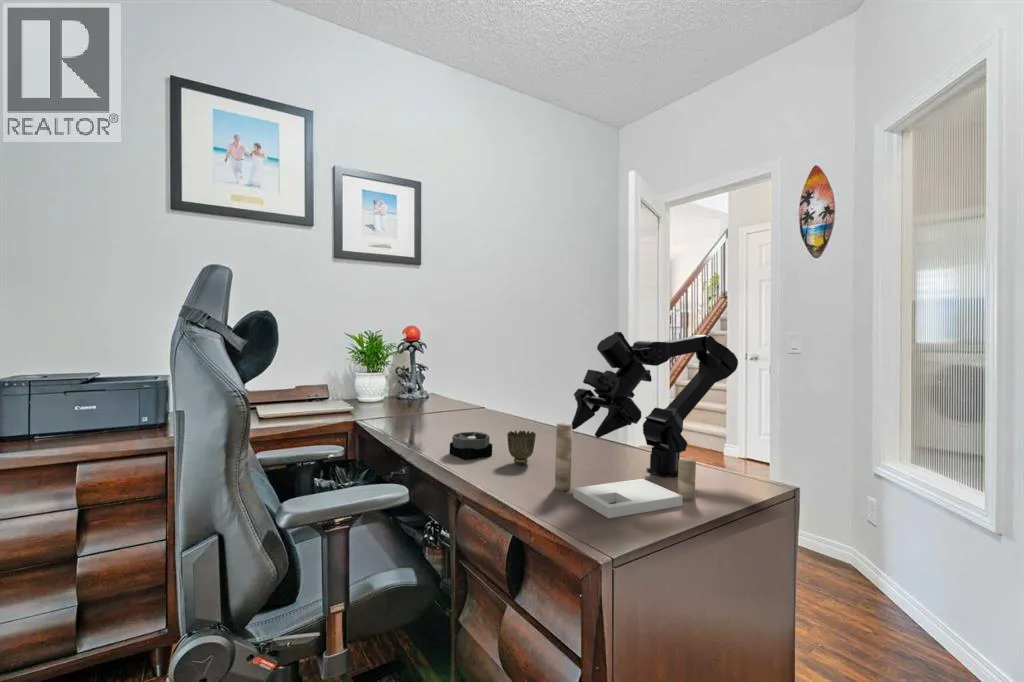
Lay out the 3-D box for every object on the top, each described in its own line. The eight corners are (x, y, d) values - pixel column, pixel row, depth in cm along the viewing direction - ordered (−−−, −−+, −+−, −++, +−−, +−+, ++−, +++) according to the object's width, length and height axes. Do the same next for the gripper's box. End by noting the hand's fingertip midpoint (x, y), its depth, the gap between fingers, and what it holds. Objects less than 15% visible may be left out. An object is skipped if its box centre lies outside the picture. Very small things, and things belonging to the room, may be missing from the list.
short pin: (686, 495, 103) (687, 457, 103) (698, 500, 100) (699, 461, 100) (673, 496, 102) (675, 459, 102) (685, 502, 99) (687, 463, 99)
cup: (508, 458, 129) (509, 429, 129) (536, 460, 128) (536, 430, 128) (504, 466, 121) (505, 435, 121) (533, 468, 120) (534, 436, 120)
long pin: (565, 485, 108) (567, 422, 108) (573, 489, 105) (575, 425, 105) (552, 486, 106) (553, 423, 106) (560, 491, 103) (561, 426, 103)
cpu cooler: (465, 440, 125) (445, 433, 133) (465, 462, 125) (444, 454, 133) (497, 436, 131) (476, 429, 139) (496, 456, 131) (475, 449, 139)
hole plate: (642, 487, 107) (642, 478, 107) (682, 505, 97) (682, 495, 96) (573, 497, 100) (573, 488, 100) (608, 518, 89) (608, 507, 89)
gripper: (581, 355, 118) (541, 402, 113) (632, 360, 102) (588, 415, 97) (606, 386, 122) (568, 433, 117) (659, 396, 105) (618, 450, 100)
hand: (583, 432), depth 108 cm, fingers open, 9 cm apart
